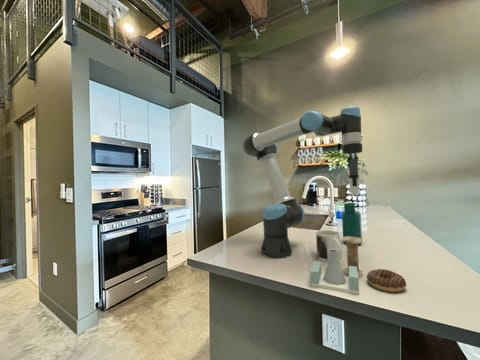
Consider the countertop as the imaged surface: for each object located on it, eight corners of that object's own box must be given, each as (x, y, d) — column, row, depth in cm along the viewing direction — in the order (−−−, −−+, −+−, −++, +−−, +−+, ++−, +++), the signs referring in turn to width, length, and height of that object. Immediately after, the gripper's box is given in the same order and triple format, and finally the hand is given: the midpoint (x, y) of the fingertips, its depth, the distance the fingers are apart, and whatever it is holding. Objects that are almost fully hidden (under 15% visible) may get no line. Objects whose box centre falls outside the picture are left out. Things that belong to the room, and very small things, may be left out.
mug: (342, 254, 97) (341, 230, 97) (342, 264, 86) (341, 237, 86) (317, 252, 102) (316, 229, 102) (315, 261, 91) (314, 235, 91)
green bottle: (345, 240, 119) (343, 201, 120) (362, 242, 114) (360, 201, 115) (342, 244, 111) (340, 203, 112) (360, 247, 106) (358, 203, 107)
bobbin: (344, 275, 77) (342, 240, 77) (344, 269, 82) (342, 235, 82) (363, 278, 74) (361, 241, 74) (362, 271, 79) (360, 237, 79)
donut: (415, 292, 64) (415, 279, 64) (383, 296, 63) (382, 282, 63) (388, 277, 75) (387, 265, 75) (360, 279, 74) (359, 268, 74)
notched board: (311, 286, 70) (310, 271, 70) (314, 274, 78) (313, 261, 78) (359, 294, 64) (358, 278, 64) (357, 281, 72) (356, 266, 72)
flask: (342, 275, 75) (341, 247, 75) (349, 285, 68) (347, 254, 68) (321, 274, 76) (319, 247, 76) (325, 284, 69) (324, 254, 69)
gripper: (364, 138, 78) (367, 195, 77) (359, 146, 100) (362, 191, 100) (342, 140, 81) (344, 195, 81) (342, 148, 103) (344, 191, 103)
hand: (354, 193), depth 90 cm, fingers open, 13 cm apart
